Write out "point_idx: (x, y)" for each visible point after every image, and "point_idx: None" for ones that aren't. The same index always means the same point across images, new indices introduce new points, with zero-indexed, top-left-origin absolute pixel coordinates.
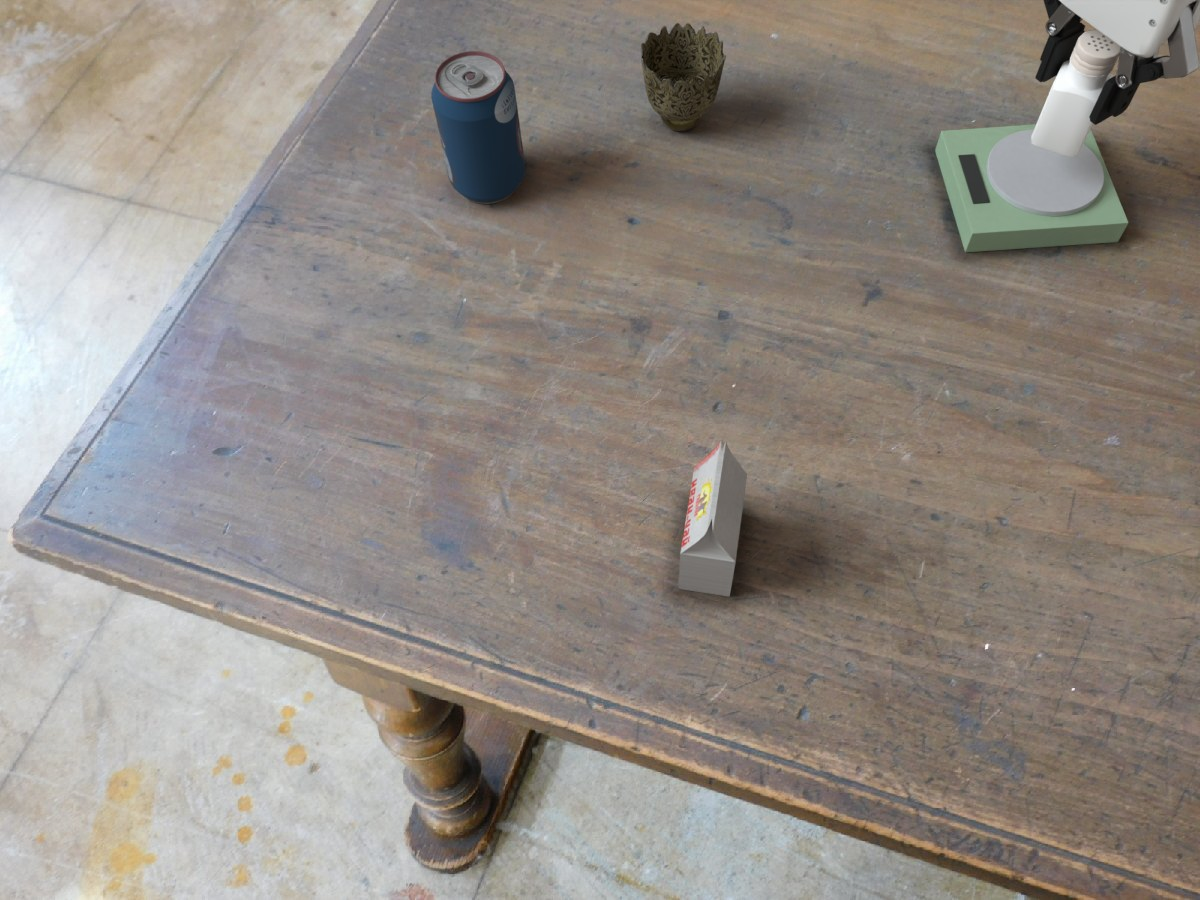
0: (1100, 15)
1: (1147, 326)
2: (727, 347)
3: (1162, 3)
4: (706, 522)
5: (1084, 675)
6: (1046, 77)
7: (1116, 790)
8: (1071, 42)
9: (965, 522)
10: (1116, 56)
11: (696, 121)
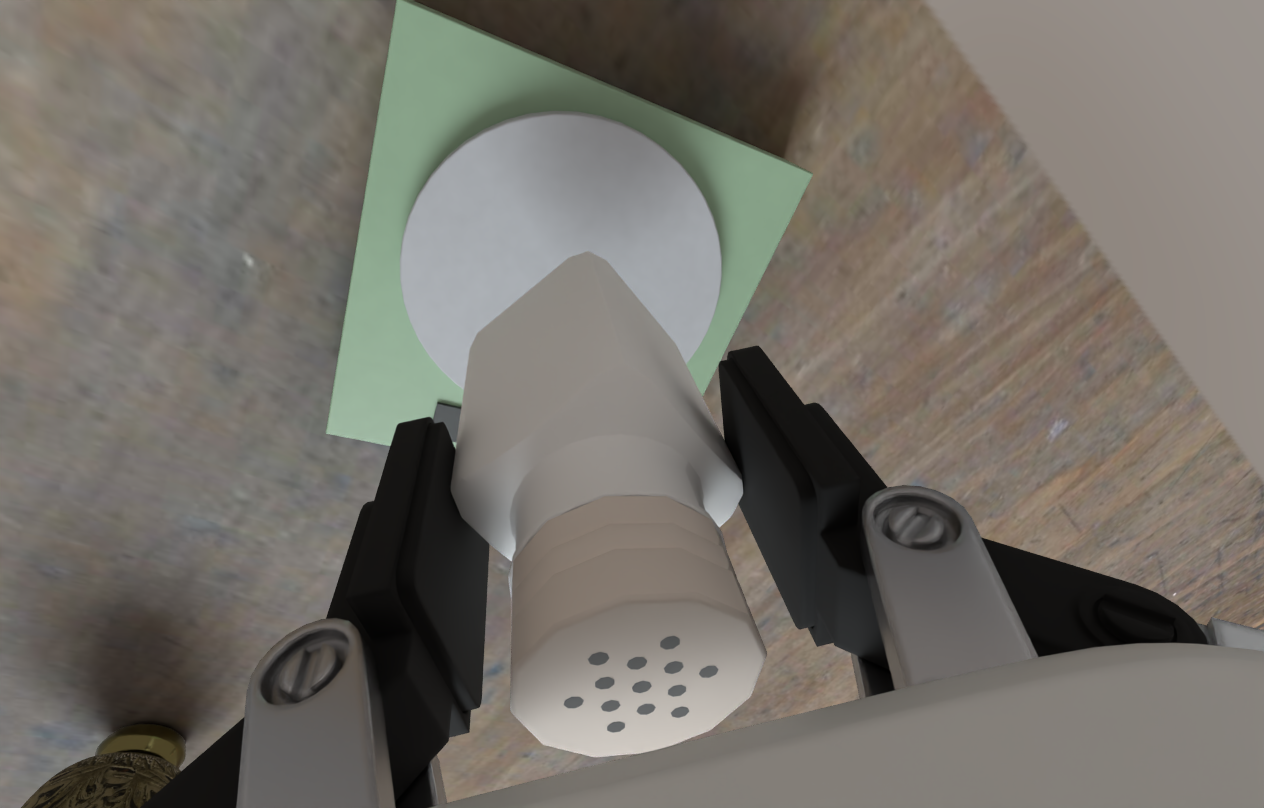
0: None
1: (974, 247)
2: None
3: None
4: None
5: (1178, 581)
6: (484, 541)
7: (1248, 597)
8: (445, 601)
9: None
10: (758, 632)
11: (170, 742)
